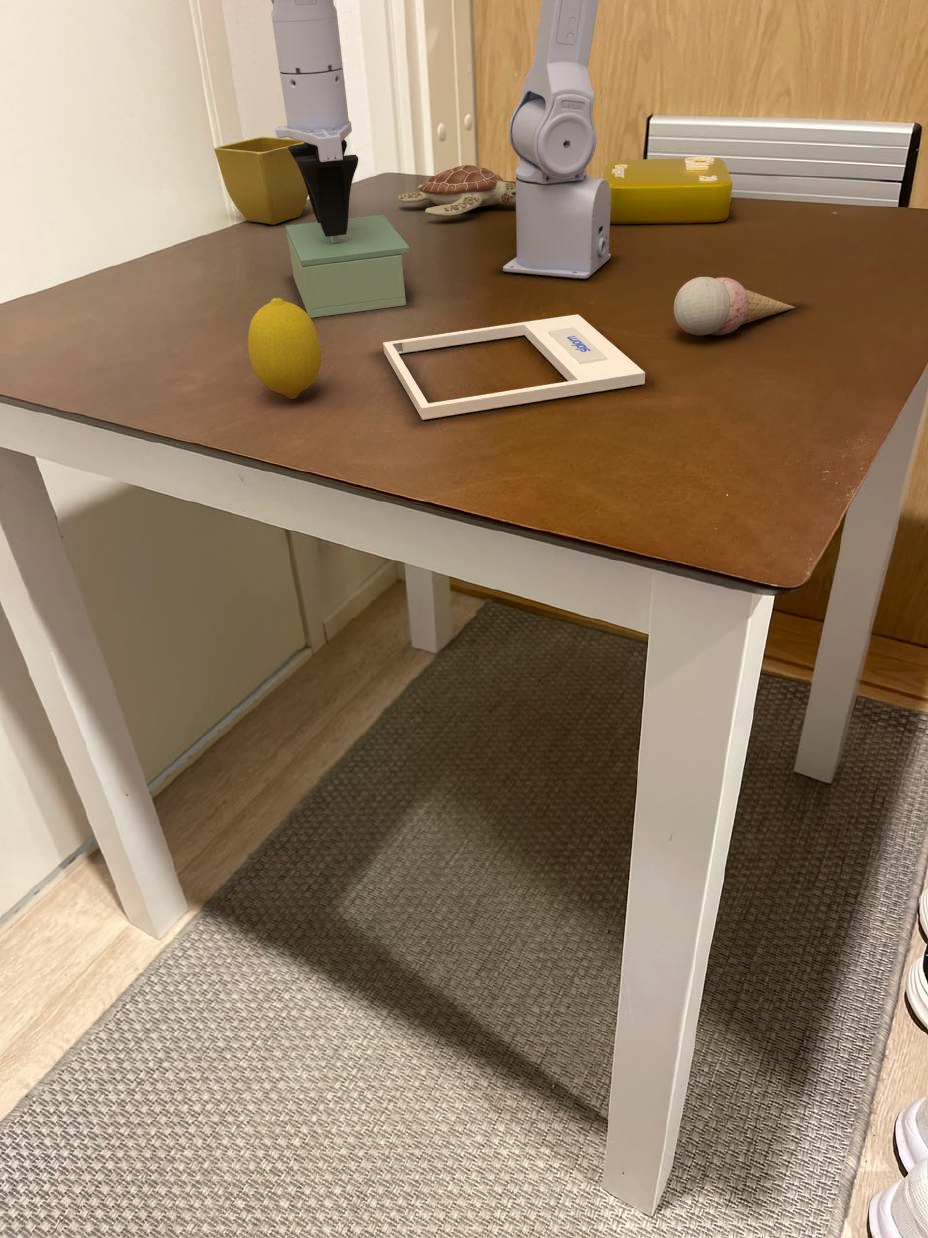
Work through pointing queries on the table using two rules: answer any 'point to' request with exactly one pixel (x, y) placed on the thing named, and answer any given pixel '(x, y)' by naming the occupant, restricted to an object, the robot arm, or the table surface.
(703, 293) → the ice cream cone
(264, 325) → the lemon
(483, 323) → the table surface
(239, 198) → the flower pot
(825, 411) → the table surface
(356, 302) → the cool box
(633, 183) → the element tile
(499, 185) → the decorative turtle
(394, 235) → the cool box lid
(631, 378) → the photo frame
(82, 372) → the table surface
